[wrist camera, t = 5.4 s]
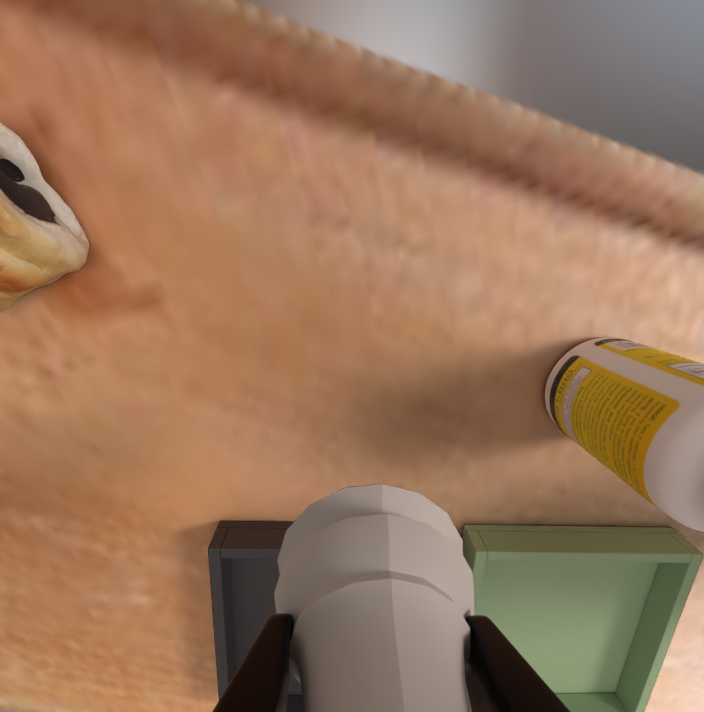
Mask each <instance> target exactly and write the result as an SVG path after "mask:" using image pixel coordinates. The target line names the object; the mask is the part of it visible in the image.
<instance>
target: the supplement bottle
mask: <svg viewBox="0 0 704 712" xmlns="http://www.w3.org/2000/svg"><path fill="white" fill-rule="evenodd" d="M545 404H546V408H547V411H548V414H549V416H550V417H551V419H552V420H553V422H554V423H555V424H556V425H557V426H558V427H559V428H560V429H561V430H562V431H563V432H564V433H565V434H566V435H567V436H569V437H570V438H571V439H572V440H573V441H575V442H576V443H577V444H578V445H580V446H581V447H582V448H583V449H585V450H586V451H587V452H588V453H590V454H591V455H592V456H593V457H595V458H596V459H597V460H598V461H600V462H601V463H602V464H603V465H605V466H606V467H607V468H608V469H610V470H611V471H612V472H613V473H615V474H616V475H617V476H618V477H620V478H621V479H622V480H623V481H625V482H626V483H627V484H628V485H630V486H631V487H632V488H633V489H634V490H636V491H637V492H638V493H639V494H641V495H642V496H643V497H644V498H646V499H647V500H648V501H649V502H651V503H652V504H653V505H654V506H656V507H657V508H658V509H659V510H661V511H662V512H664V513H665V514H666V515H668V516H669V517H671V518H672V519H673V520H675V521H677V522H679V523H680V524H682V525H684V526H686V527H689V528H691V529H694V530H697V531H701V532H704V364H702V363H699V362H695V361H692V360H689V359H686V358H683V357H679V356H677V355H673V354H670V353H667V352H664V351H661V350H658V349H655V348H651V347H648V346H645V345H642V344H639V343H635V342H632V341H629V340H625V339H621V338H613V337H603V338H596V339H592V340H589V341H586V342H584V343H581V344H580V345H578V346H576V347H574V348H573V349H571V350H570V351H569V352H567V353H566V354H565V355H564V356H563V357H562V358H561V359H560V360H559V361H558V363H557V364H556V365H555V367H554V368H553V370H552V372H551V373H550V375H549V378H548V380H547V384H546V388H545Z"/></svg>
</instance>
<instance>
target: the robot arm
mask: <svg viewBox="0 0 704 712" xmlns="http://www.w3.org/2000/svg"><path fill="white" fill-rule="evenodd" d="M465 620H466V622H467V624H468V625H469V627H470V640H471V647H470V656H469V659H468V661H467V663H466V665H465V679H466V685H467V690H468V695H469V700H470V705H471V710H472V712H570V711H569V709H568V708H567V707H566V706H565V705H564V704H563V702H562V701H561V700H560V699H559V698H558V697H557V696H556V694H555V693H554V692H553V691H552V690H551V689H550V687H549V686H548V685H547V684H546V683H545V682H544V681H543V679H542V678H541V677H540V676H539V675H538V674H537V672H536V671H535V670H534V669H533V668H532V667H531V666H530V664H529V663H528V662H527V661H526V660H525V659H524V658H523V656H522V655H521V654H520V653H519V652H518V651H517V649H516V648H515V647H514V646H513V645H512V644H511V643H510V641H509V640H508V639H507V638H506V637H505V636H504V634H503V633H502V632H501V631H500V630H499V629H498V628H497V626H496V625H495V624H494V623H493V622H492V621H491V620H490V619H489V618H488V617H487V616H484V615H469V616H467V617H466V619H465ZM291 637H292V615H291V614H289V613H274V614H272V615H271V616H270V617H269V618H268V620H267V621H266V623H265V625H264V626H263V628H262V630H261V632H260V633H259V635H258V637H257V638H256V640H255V642H254V643H253V645H252V647H251V648H250V650H249V652H248V653H247V655H246V657H245V658H244V660H243V662H242V663H241V665H240V667H239V668H238V670H237V672H236V673H235V675H234V677H233V678H232V680H231V682H230V683H229V685H228V687H227V688H226V690H225V692H224V693H223V695H222V697H221V699H220V700H219V702H218V704H217V705H216V707H215V709H214V710H213V712H286V708H287V698H288V687H289V677H290V666H291V663H290V640H291Z"/></svg>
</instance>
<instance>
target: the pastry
mask: <svg viewBox="0 0 704 712" xmlns="http://www.w3.org/2000/svg"><path fill="white" fill-rule="evenodd" d="M88 251H89V242H88V239H87V237H86V234H85V232H84V231H83V229H82V227H81V226H80V224H79V222H78V221H77V219H76V217H75V215H74V213H73V211H72V210H71V208H69V207H68V206H67V205H66V204H65V203H64V201H63V200H62V199H61V197H60V196H59V195H58V194H57V193H56V191H55V190H54V189H53V188H52V187H51V186H50V185H48V184H47V183H46V182H45V181H44V179H43V177H42V175H41V172H40V168H39V166H38V164H37V162H36V160H35V158H34V157H33V155H32V154H31V152H30V151H29V149H28V148H27V147H26V145H25V143H24V142H23V140H22V139H21V138H20V137H19V136H18V135H17V134H15V133H14V132H13V131H11V130H10V129H9V128H8V127H6V126H5V125H3V124H2V123H1V122H0V312H1V311H3V310H5V309H7V308H9V307H11V306H12V305H13V304H14V303H15V302H16V301H17V299H18V298H19V297H21V296H23V295H25V294H27V293H29V292H30V291H32V290H33V289H37V288H40V287H43V286H45V285H48V284H51V283H52V282H54V281H56V280H58V279H59V277H61V276H63V275H65V274H67V273H70V272H75V271H77V270H79V269H80V268H81V267H82V266H83V265H84V264H85V263H86V260H87V253H88Z"/></svg>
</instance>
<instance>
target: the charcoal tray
mask: <svg viewBox="0 0 704 712" xmlns="http://www.w3.org/2000/svg"><path fill="white" fill-rule="evenodd" d="M293 523H294V522H260V521H220V522H219V524H218V527H217V529H216V532H215V534H214V536H213V539H212V541H211V543H210V545H209V548H208V556H209V570H210V584H211V597H212V611H213V625H214V638H215V652H216V666H217V680H218V693H219V700H220V699H221V697H222V695H223V693H224V692H225V690H226V688H227V687H228V685H229V683H230V682H231V680H232V678H233V677H234V675H235V673H236V672H237V670H238V668H239V667H240V665H241V663H242V662H243V660H244V658H245V657H246V655H247V653H248V652H249V650H250V648H251V647H252V645H253V643H254V642H255V640H256V638H257V637H258V635H259V633H260V632H261V630H262V628H263V626H264V625H265V623H266V621H267V620H268V618H269V617H270V616H271V615H272V614H274V613H276V606H275V598H274V592H275V589H276V586H277V582H278V579H279V576H280V572H279V567H278V562H277V560H278V556H279V553H280V550H281V546H282V543H283V540H284V536H285V533H286V530H287V529H288V528H289V527H290V526H291V525H292V524H293ZM286 712H303V696H302V689H301V684H300V683H299V681H298V680H297V679H296V678H295V677H294V675H293V672H292V668H291V666H290V677H289V687H288V698H287V708H286Z"/></svg>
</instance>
